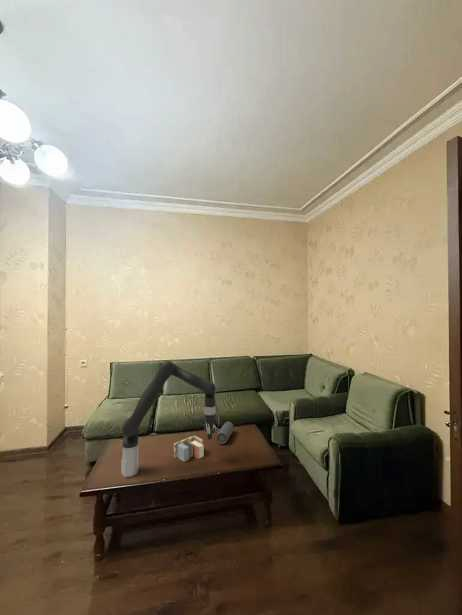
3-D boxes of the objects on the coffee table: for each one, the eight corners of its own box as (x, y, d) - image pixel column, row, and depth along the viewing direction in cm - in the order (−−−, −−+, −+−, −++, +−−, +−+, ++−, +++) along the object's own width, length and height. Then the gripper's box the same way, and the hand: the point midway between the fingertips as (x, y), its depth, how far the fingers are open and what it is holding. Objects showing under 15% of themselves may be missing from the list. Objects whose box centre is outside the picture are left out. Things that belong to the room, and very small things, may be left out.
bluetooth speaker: (227, 446, 203) (227, 432, 204) (215, 445, 206) (215, 431, 206) (234, 433, 225) (234, 421, 226) (223, 432, 228) (223, 420, 228)
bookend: (188, 458, 186) (188, 445, 186) (182, 455, 191) (182, 442, 191) (192, 456, 189) (192, 443, 189) (187, 453, 193) (187, 440, 194)
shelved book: (183, 461, 182) (183, 449, 182) (177, 457, 188) (177, 445, 188) (188, 459, 185) (188, 447, 185) (182, 455, 190) (182, 443, 191)
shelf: (182, 463, 180) (182, 448, 180) (173, 458, 187) (173, 443, 187) (203, 454, 192) (203, 439, 192) (194, 449, 199) (194, 435, 200)
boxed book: (190, 453, 193) (190, 442, 193) (195, 451, 196) (195, 440, 196) (198, 459, 185) (198, 447, 186) (203, 456, 189) (203, 445, 189)
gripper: (199, 411, 183) (199, 437, 182) (211, 416, 174) (211, 444, 173) (208, 408, 188) (207, 434, 188) (220, 413, 179) (220, 440, 178)
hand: (209, 439), depth 180 cm, fingers closed
